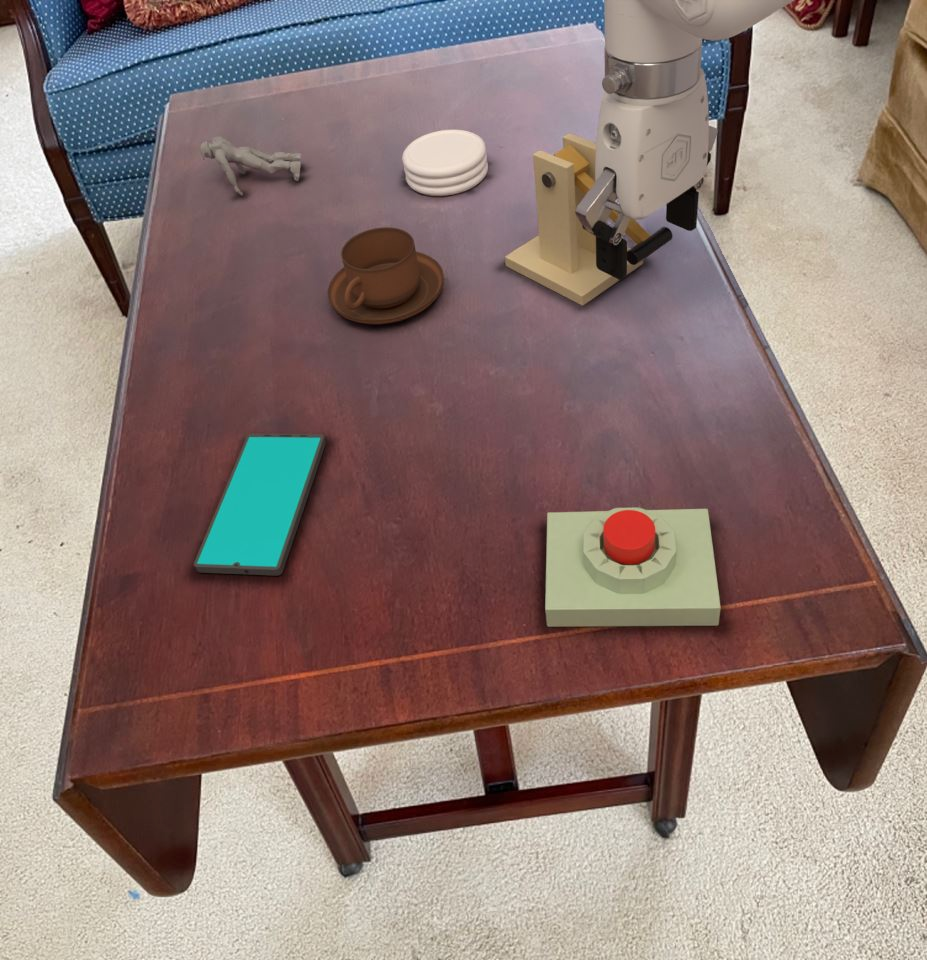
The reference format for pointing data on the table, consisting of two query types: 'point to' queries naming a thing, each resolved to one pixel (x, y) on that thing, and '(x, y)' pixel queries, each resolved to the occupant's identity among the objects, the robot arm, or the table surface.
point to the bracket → (562, 231)
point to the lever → (634, 231)
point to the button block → (631, 573)
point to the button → (629, 537)
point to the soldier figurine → (248, 159)
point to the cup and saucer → (384, 278)
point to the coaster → (445, 162)
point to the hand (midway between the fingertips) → (646, 248)
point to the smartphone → (261, 505)
